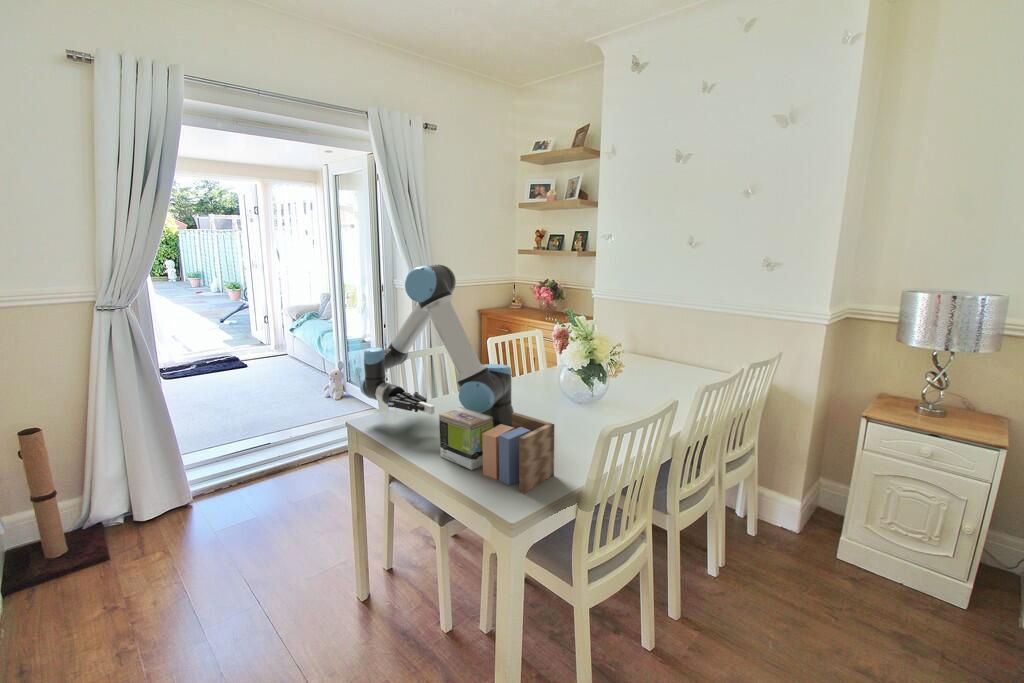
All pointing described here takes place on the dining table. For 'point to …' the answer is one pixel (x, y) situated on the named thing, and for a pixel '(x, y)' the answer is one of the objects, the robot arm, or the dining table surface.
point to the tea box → (463, 436)
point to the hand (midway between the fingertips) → (432, 410)
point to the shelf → (534, 451)
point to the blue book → (510, 455)
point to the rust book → (492, 450)
